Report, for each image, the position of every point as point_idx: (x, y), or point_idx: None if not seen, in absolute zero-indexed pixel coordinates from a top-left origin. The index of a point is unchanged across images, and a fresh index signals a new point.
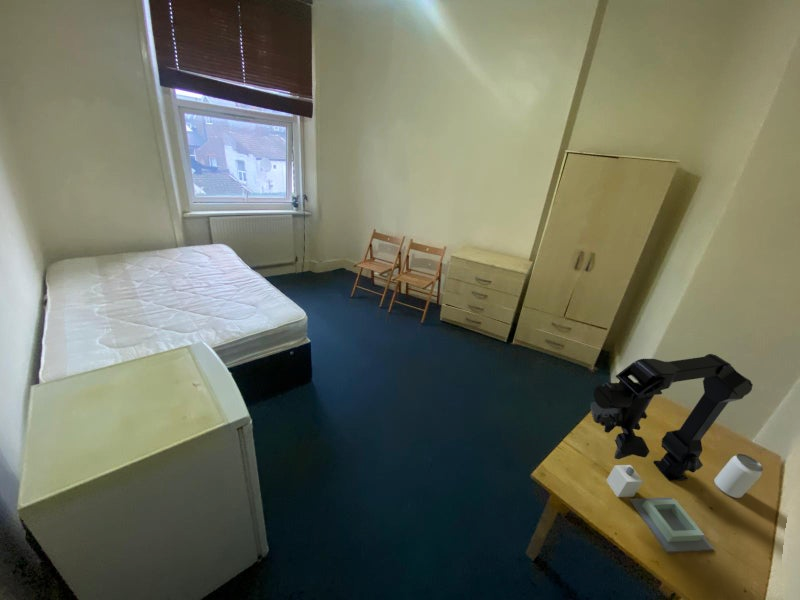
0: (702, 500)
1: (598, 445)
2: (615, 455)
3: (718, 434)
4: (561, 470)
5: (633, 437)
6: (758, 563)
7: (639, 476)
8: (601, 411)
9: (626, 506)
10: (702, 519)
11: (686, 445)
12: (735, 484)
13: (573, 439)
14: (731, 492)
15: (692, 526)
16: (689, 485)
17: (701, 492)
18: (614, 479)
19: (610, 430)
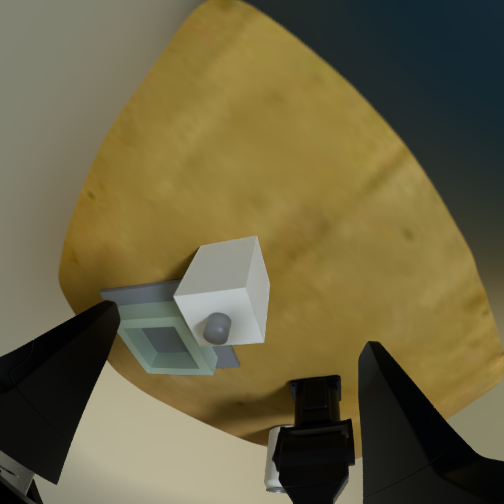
0: (253, 401)
1: (400, 270)
2: (87, 314)
3: None
4: (263, 72)
5: None
6: (161, 397)
7: (216, 345)
8: None
9: (177, 258)
10: (208, 383)
11: (290, 487)
12: (271, 451)
13: (426, 188)
14: (271, 435)
15: (157, 366)
16: (284, 400)
17: (271, 407)
18: (227, 260)
19: (359, 385)
